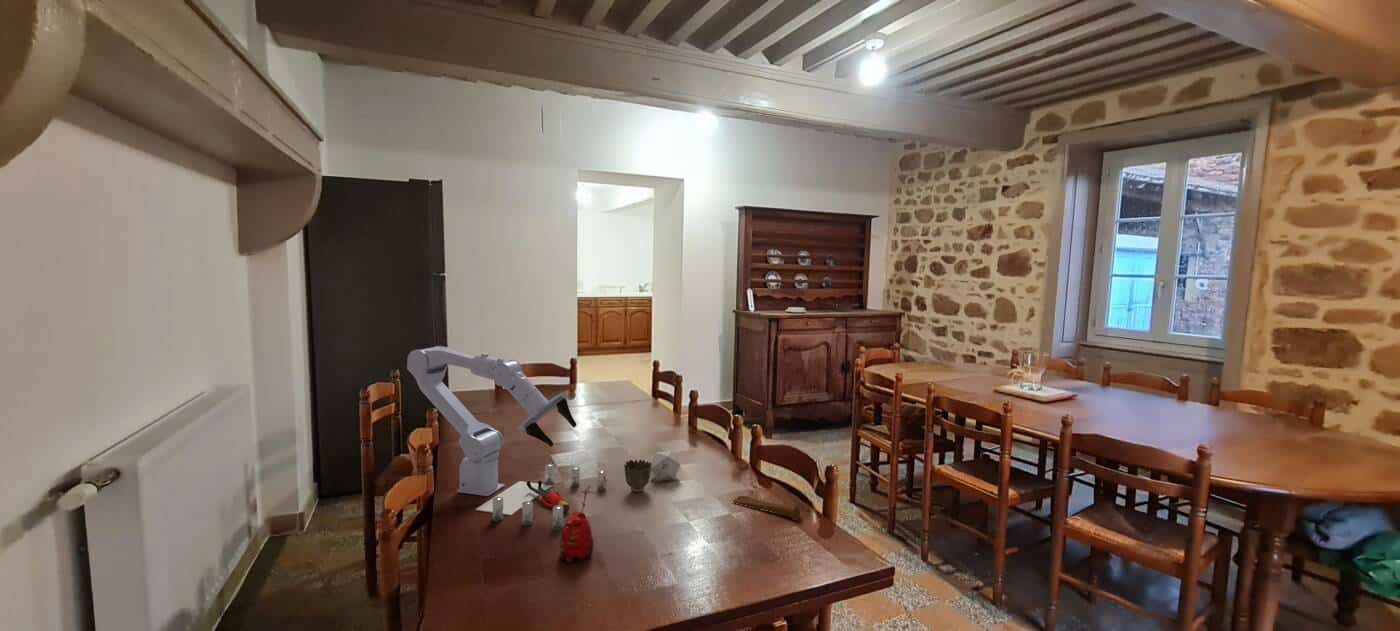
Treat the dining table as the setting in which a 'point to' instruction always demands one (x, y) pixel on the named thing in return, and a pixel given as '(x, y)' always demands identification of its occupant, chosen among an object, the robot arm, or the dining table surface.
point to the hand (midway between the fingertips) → (563, 435)
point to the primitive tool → (769, 506)
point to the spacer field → (557, 510)
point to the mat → (514, 498)
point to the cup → (637, 474)
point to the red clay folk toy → (576, 537)
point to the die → (665, 465)
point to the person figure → (549, 497)
